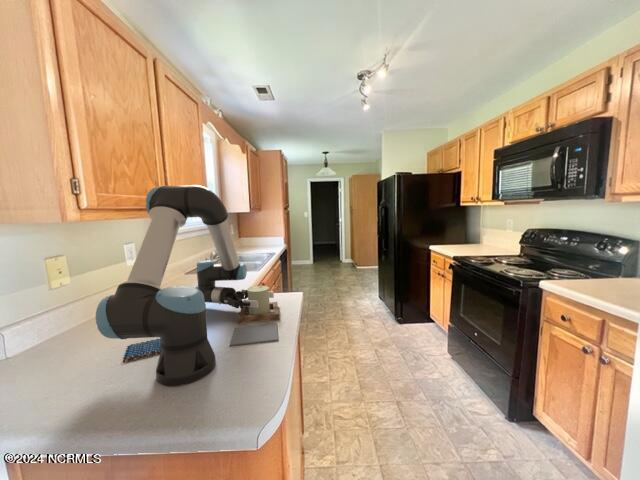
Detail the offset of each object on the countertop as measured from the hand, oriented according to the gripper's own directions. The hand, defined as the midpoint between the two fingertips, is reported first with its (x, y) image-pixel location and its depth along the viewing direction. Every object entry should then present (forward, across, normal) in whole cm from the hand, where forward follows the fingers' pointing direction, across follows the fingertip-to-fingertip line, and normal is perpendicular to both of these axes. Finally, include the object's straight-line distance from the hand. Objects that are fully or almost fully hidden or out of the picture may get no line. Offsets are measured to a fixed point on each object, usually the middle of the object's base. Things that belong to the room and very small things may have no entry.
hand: (265, 299), depth 115 cm
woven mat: (-23, +38, -8) cm, 45 cm away
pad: (+6, +18, -7) cm, 20 cm away
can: (-4, 0, -7) cm, 8 cm away
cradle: (-4, 0, -7) cm, 8 cm away
